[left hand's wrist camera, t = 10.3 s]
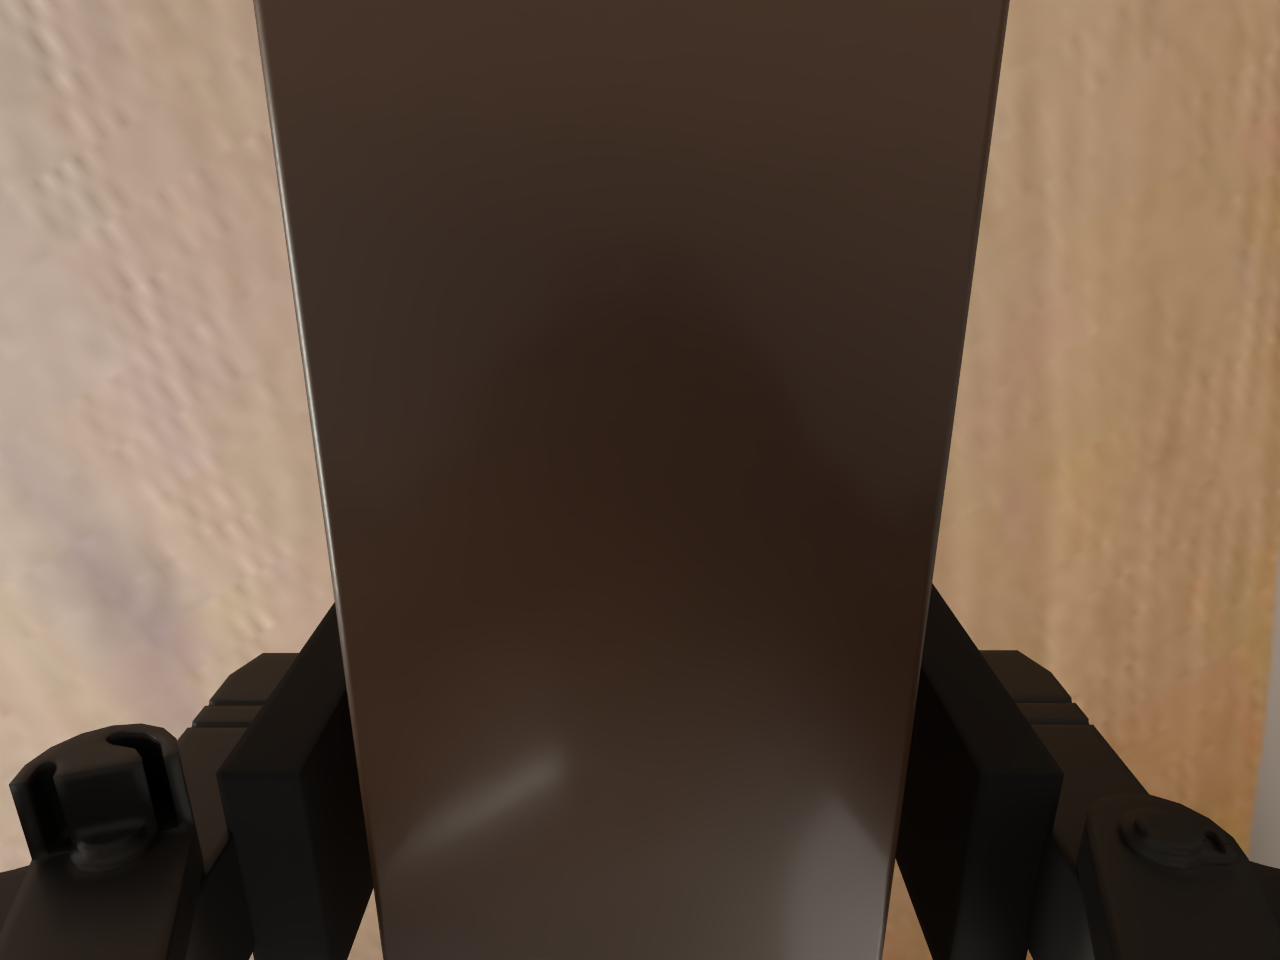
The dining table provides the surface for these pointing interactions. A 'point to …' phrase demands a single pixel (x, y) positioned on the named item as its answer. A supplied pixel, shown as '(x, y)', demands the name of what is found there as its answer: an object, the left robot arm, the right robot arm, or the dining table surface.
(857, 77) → the beam
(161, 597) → the dining table surface
